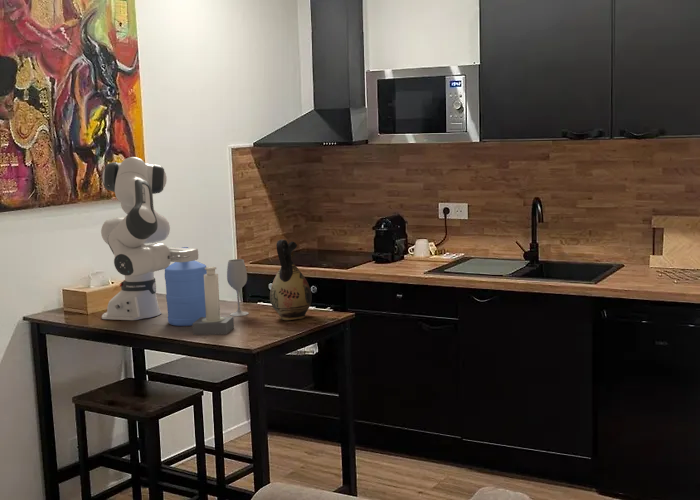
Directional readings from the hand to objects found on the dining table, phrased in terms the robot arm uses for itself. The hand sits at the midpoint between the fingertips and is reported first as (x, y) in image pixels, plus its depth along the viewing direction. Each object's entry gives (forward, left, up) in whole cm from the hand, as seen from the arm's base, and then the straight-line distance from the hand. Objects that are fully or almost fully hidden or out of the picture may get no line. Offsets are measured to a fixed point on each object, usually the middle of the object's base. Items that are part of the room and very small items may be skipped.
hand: (185, 250), depth 301 cm
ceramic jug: (+29, +30, -31) cm, 52 cm away
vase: (+5, +11, -26) cm, 29 cm away
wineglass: (+7, +38, -31) cm, 50 cm away
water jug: (-9, +26, -31) cm, 42 cm away
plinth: (+5, +11, -31) cm, 33 cm away
